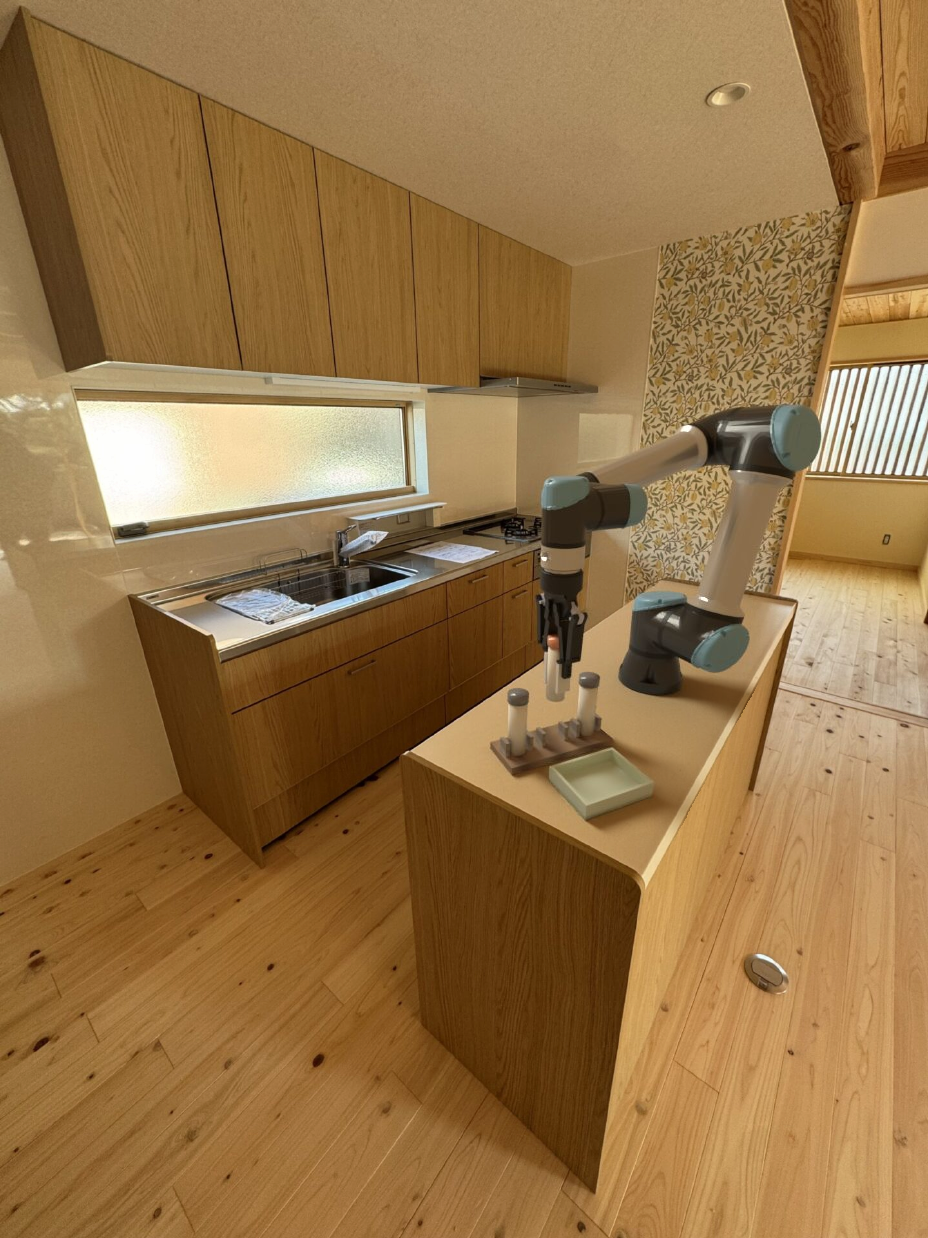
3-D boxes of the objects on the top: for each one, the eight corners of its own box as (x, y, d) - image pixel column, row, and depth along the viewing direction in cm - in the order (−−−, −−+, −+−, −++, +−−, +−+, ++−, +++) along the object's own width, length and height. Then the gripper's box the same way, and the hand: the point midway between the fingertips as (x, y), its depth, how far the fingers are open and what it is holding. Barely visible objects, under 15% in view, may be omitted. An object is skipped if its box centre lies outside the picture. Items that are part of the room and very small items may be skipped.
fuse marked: (558, 690, 99) (561, 631, 94) (569, 699, 95) (573, 639, 91) (540, 694, 97) (543, 635, 93) (552, 704, 94) (555, 643, 89)
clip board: (585, 722, 108) (586, 704, 107) (612, 744, 100) (614, 725, 99) (490, 748, 100) (490, 729, 98) (511, 775, 92) (512, 754, 90)
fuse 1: (520, 742, 99) (522, 686, 95) (530, 753, 96) (533, 695, 91) (502, 747, 98) (503, 690, 93) (512, 758, 94) (513, 700, 90)
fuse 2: (587, 723, 105) (591, 670, 100) (598, 733, 102) (604, 678, 97) (571, 728, 104) (575, 674, 99) (582, 738, 100) (587, 682, 96)
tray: (610, 760, 96) (612, 747, 95) (652, 796, 86) (654, 782, 85) (548, 780, 91) (549, 766, 90) (585, 820, 81) (586, 805, 80)
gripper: (519, 560, 93) (517, 672, 101) (571, 583, 78) (564, 712, 87) (554, 555, 95) (549, 665, 104) (609, 577, 81) (599, 702, 90)
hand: (556, 686), depth 95 cm, fingers closed on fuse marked, 3 cm apart
